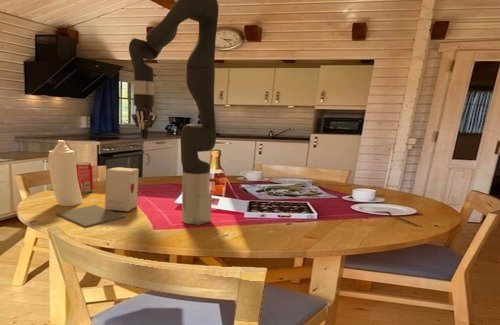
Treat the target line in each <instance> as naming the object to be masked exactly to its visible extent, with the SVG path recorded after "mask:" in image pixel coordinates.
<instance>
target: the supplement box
mask: <svg viewBox="0 0 500 325" xmlns="http://www.w3.org/2000/svg"><path fill="white" fill-rule="evenodd" d="M139 171H140V169H139V168H134V167H133V168H131V167H120V166H119V167H112V168H108V169H106V174H105V175H106V177H105V195H104V198H105V199H104V200H105V201H104V208H105V209H106V210H111V211H118V212H120V211H121V212H129V211H131V210H133V209H135V208H136V207H138V194H139V192H138V190H139Z"/></svg>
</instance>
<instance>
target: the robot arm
mask: <svg viewBox="0 0 500 325" xmlns="http://www.w3.org/2000/svg"><path fill="white" fill-rule="evenodd" d="M189 19H190V20H191V21H194V22H198V38H197V41H196V44H195V45H194V47H193V49H192V51H191V52H190V54H189V57H188V58H187V61H186V72H185V73H186V74H185V75H186V76H185V78H186V85H187V89H188V91H189V93H190V94H191V97H192V99H193V100H194V102H195V105H196V106H197V110H198V114H199V124H198V123H197V124H195V123H194V124H193V123H191V124H190V123H189V124H185V125H184V126H183V127H181V128H182V129H181V131H180V140H179V141H180V163H181V166H182V188H181V190H182V192H181V193H182V195H181V197H182V198H181V199H182V200H181V222H182V223H184V224H188V225H197V226H200V225H204V224H206V223H208V222H209V223H210V222H212V194H211V193H210V186H211V185H210V184H211V182H210V181H211V165H210V163H209V162H207V161H204V160H202V159H200V158H199V152H201V153H202V152H211V151H212V150H214V148H215V145H216V140H217V129H216V128H217V126H216V116H215V82H216V81H215V80H216V79H215V77H216V75H215V73H216V71H215V70H216V66H215V65H216V63H215V62H216V61H215V60H216V59H215V57H216V39H217V38H216V37H217V31H218V30H217V28H218V23H219V22H218V21H219V2H218V0H177V1H175V3H174V4H173V5H172V6H171V8H170V10H169V11H168V12H167V14H166V15H165V16H164V18H163V19H162V20H161V21H159V22H158V23H157V24H156V25H155V26H154V27H152V28H151V29H150V30H149V31H148V32H147V33H146V36H145V39H142V38H139V37H135V38H134V37H133V38H132V39H131V40H130V42H129V45H128V53H129V56H130V59H131V64H132V67H133V81H134V82H133V105H134V107H135V113H134V114H133V113H132V114H131V117H132V120H133V122H134V124H135V127H136V128H139V131H140V132H139V133H140V139H141V140H145V139H146V140H147V139H148V138H149V129H150V128H153V125H154V124H155V121H156V119H157V117H158V116H157V115H156V114H154V113H153V107H154V106H155V86H154V84H155V83H154V69H153V67H152V66H150V65H148V64H147V63H145V61H153V60H155V59H157V58H158V56H159V55H160V54H161V53H162V50H163V48H164V47H166V46H167V45H169V44H170V43H171V42H172V41H173V40H174V39H175V38H176V36H177V34H178V27H179V25H180V24H182V23H183V22H184V21H187V20H189Z"/></svg>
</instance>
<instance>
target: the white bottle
mask: <svg viewBox="0 0 500 325" xmlns="http://www.w3.org/2000/svg"><path fill="white" fill-rule="evenodd" d="M65 142H66V141H65V140H62V139H61V140H60V139H58V140H57V143H56V146H55V147H54V148H53V149H52V150H48V152H49V153H48V166H49V175H50V181H51V182H50V183H51V185H52V188H53V193H54V197H55V200H56V203H57V205H58V206H60V205H61V207H72V206H78V205H81V204H83V203H84V200H83V196H82V193H81V192H80V188H79V183H78V179H77V170H76V163H77V160H76V153H75V152H76V151H75V150H73V149H70V148H69V146H68V145H67V144H66V143H65Z"/></svg>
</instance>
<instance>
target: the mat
mask: <svg viewBox="0 0 500 325" xmlns="http://www.w3.org/2000/svg"><path fill="white" fill-rule="evenodd" d="M56 214H57V215H56ZM55 215H56V216H58V215H59V216H58V217H60V216H61V217H60V218H63V219H66V220H67V221H70V222H72V223H74V224H77V225H79V226H81V227H82V228H89V227H93V226H97V225H101V224H105V223H110V222H113V221H117V220H118V221H119V220H121V219H124V218H126V217H127V216H126V215H124V214H122V213H121V214H120V213H119V212H116V211H114V210H106V209H105V207H102V206H98V205H96V204H92V205H88V206H84V207H77V208H72V209H68V210H63V211H59V212H58V211H57V212H55Z"/></svg>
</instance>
